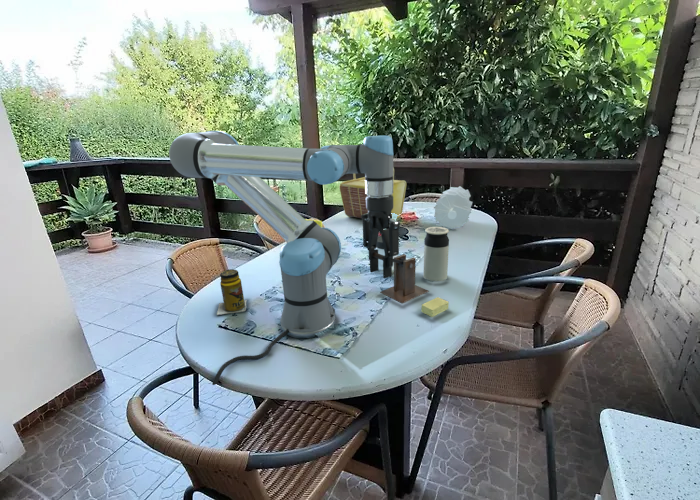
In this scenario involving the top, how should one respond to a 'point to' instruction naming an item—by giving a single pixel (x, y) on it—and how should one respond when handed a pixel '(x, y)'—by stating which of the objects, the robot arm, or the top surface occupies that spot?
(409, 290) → the wooden lever stand
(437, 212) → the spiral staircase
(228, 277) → the condiment
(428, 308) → the butter
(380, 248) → the jar
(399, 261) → the lever
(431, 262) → the travel mug
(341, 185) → the picnic basket
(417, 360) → the top surface
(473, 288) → the top surface
